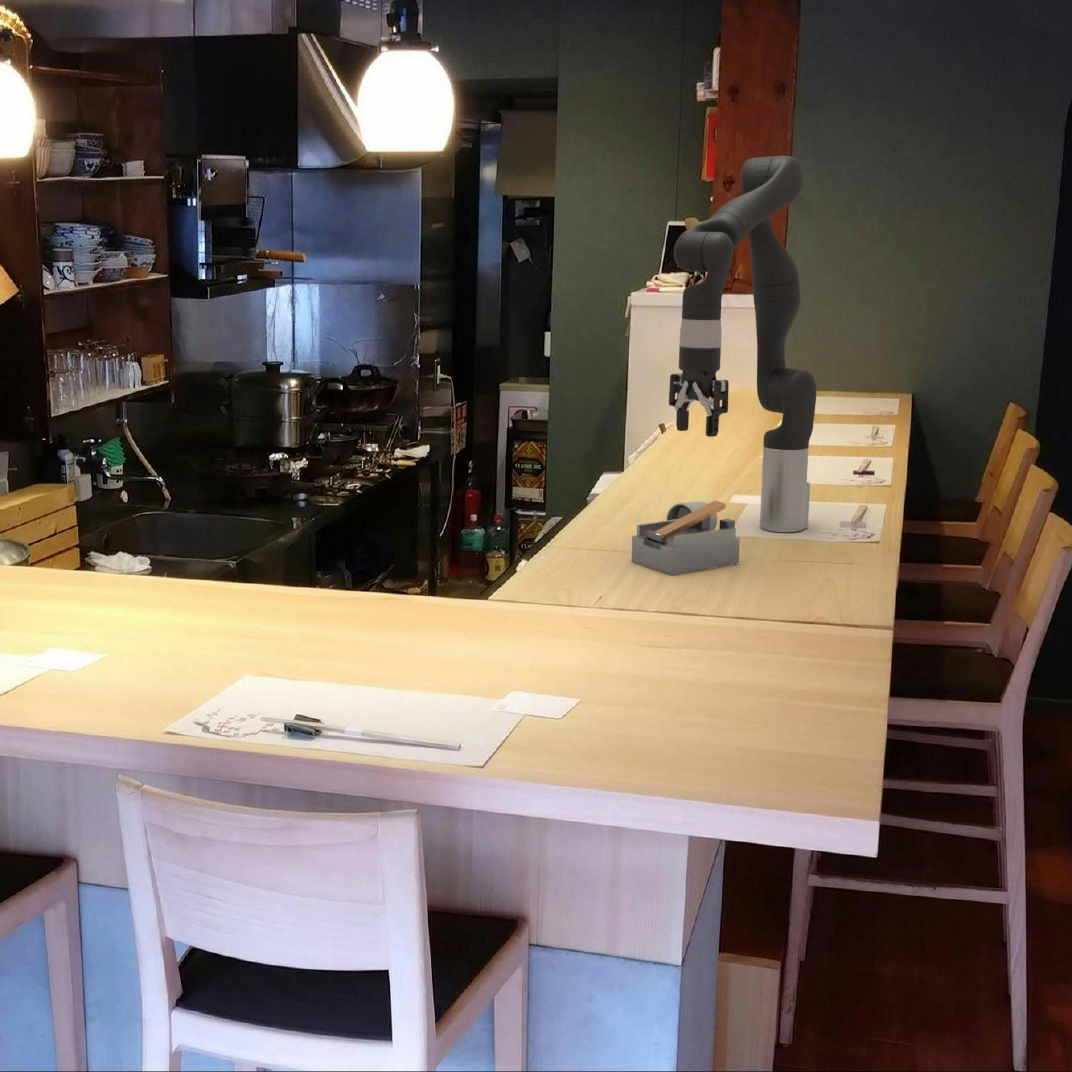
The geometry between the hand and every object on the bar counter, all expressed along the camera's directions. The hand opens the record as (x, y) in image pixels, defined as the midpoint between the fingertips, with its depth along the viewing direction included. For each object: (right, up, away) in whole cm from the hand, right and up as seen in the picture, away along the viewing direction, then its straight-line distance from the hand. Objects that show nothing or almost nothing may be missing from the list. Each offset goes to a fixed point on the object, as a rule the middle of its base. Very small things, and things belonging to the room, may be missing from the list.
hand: (696, 433), depth 248 cm
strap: (-1, -17, +3) cm, 17 cm away
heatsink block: (-2, -24, +4) cm, 24 cm away
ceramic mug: (+1, -19, +25) cm, 32 cm away
